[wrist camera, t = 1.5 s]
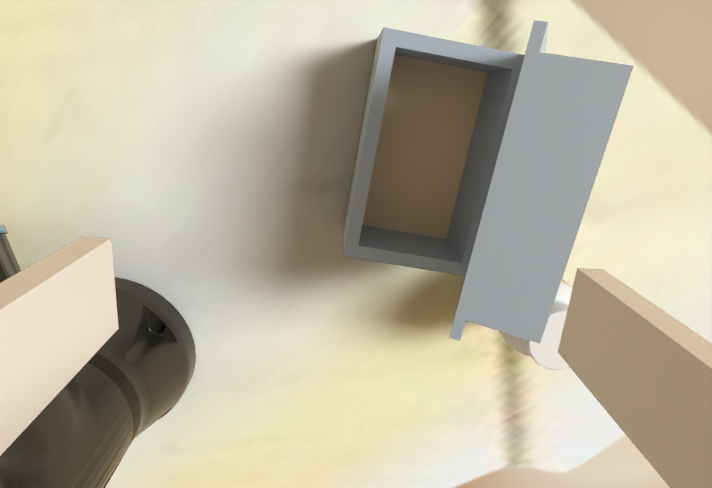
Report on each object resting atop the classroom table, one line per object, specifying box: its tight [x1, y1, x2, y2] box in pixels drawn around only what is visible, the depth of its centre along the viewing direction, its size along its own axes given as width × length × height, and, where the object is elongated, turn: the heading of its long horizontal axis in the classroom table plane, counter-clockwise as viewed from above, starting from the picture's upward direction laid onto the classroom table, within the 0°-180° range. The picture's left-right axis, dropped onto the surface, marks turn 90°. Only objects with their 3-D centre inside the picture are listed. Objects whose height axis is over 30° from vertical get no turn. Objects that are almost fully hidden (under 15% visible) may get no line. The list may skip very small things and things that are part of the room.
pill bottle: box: [500, 279, 573, 370], centre depth 39 cm, size 6×6×12 cm
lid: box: [450, 20, 633, 344], centre depth 28 cm, size 10×17×5 cm
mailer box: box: [343, 28, 525, 276], centre depth 37 cm, size 10×16×7 cm, turn 170°
